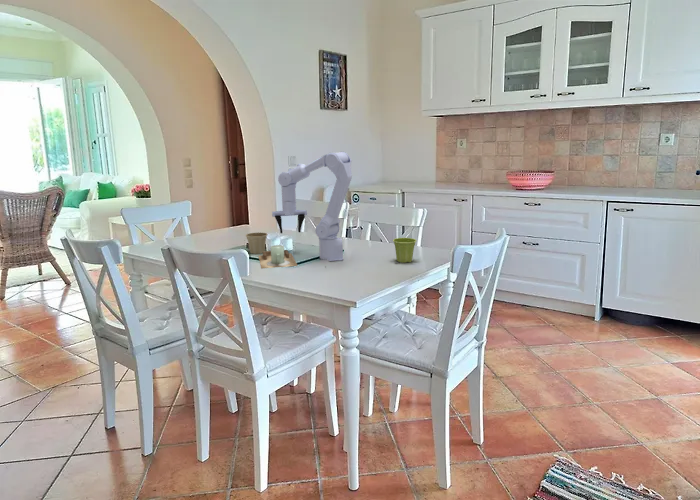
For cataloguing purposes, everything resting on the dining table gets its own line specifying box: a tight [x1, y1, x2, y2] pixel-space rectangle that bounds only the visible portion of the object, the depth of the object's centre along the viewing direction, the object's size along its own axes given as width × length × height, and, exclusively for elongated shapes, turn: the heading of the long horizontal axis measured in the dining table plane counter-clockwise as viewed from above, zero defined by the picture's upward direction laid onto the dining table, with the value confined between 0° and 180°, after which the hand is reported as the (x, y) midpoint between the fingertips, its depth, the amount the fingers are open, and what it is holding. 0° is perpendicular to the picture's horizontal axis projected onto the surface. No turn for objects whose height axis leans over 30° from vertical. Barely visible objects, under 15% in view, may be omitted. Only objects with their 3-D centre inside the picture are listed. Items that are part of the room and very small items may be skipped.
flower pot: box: [245, 232, 268, 255], centre depth 225 cm, size 9×9×9 cm
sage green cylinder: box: [270, 244, 285, 264], centre depth 203 cm, size 5×8×6 cm, turn 12°
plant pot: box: [392, 237, 417, 264], centre depth 207 cm, size 9×9×9 cm
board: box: [258, 249, 298, 270], centre depth 210 cm, size 14×22×3 cm, turn 13°
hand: (290, 232), depth 220 cm, fingers open, 7 cm apart
